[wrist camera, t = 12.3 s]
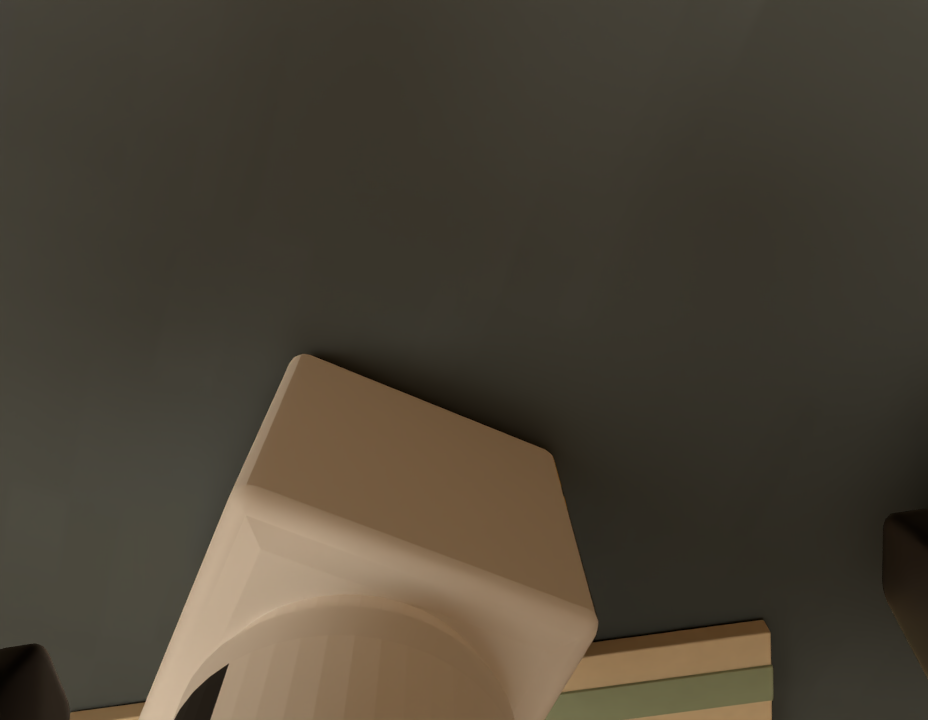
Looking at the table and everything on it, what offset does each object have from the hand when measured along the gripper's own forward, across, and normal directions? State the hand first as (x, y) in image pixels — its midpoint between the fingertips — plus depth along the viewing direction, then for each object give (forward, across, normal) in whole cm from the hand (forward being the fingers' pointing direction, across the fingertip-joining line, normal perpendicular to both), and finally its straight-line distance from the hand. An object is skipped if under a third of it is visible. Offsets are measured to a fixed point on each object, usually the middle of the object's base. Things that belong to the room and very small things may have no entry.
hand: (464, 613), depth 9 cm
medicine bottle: (+12, +3, +6) cm, 14 cm away
